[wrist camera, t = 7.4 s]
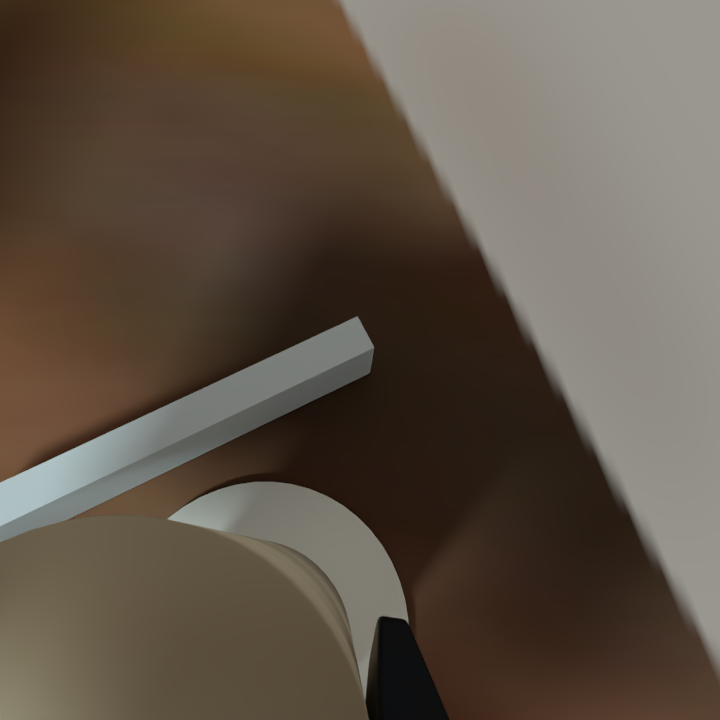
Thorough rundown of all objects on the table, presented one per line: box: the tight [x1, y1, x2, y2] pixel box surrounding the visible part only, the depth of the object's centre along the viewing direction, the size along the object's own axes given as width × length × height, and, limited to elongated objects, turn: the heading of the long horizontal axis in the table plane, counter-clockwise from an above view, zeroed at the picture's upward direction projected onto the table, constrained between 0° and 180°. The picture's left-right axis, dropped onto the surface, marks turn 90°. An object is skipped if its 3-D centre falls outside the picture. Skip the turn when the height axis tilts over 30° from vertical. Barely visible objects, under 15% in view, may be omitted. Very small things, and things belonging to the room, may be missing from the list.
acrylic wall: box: [0, 316, 374, 542], centre depth 17 cm, size 12×1×2 cm, turn 117°
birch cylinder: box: [0, 515, 369, 720], centre depth 10 cm, size 5×5×10 cm
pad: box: [168, 482, 409, 698], centre depth 17 cm, size 8×8×1 cm
